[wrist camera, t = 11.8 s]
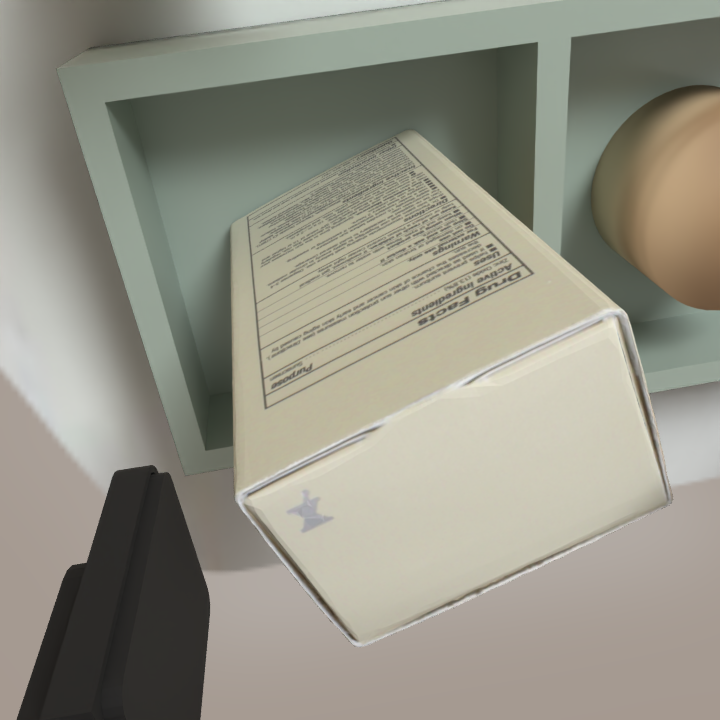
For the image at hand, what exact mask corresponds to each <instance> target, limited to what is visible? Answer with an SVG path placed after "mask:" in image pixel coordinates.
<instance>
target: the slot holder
mask: <svg viewBox="0 0 720 720" xmlns="http://www.w3.org/2000/svg"><path fill="white" fill-rule="evenodd" d="M56 70H57V73H58V76H59V80H60V83H61V86H62V89H63V92H64V95H65V99H66V102H67V105H68V108H69V111H70V114H71V117H72V121H73V124H74V127H75V130H76V133H77V136H78V140H79V143H80V146H81V149H82V152H83V155H84V158H85V162H86V165H87V168H88V171H89V174H90V177H91V181H92V184H93V187H94V190H95V193H96V196H97V199H98V203H99V206H100V209H101V212H102V215H103V218H104V222H105V225H106V228H107V231H108V234H109V237H110V240H111V244H112V247H113V250H114V253H115V256H116V259H117V263H118V266H119V269H120V272H121V275H122V278H123V281H124V285H125V288H126V291H127V294H128V297H129V300H130V304H131V307H132V310H133V313H134V316H135V319H136V322H137V326H138V329H139V332H140V335H141V338H142V341H143V345H144V348H145V351H146V354H147V357H148V360H149V363H150V367H151V370H152V373H153V376H154V379H155V382H156V386H157V389H158V392H159V395H160V398H161V401H162V404H163V408H164V411H165V414H166V417H167V420H168V423H169V427H170V430H171V433H172V436H173V439H174V442H175V445H176V449H177V452H178V455H179V458H180V461H181V464H182V468H183V471H184V474H185V476H188V475H194V474H199V473H205V472H211V471H216V470H222V469H227V468H233V467H234V451H233V388H232V379H233V377H232V322H231V261H230V226H231V224H232V223H234V222H235V221H237V220H238V219H240V218H242V217H244V216H246V215H247V214H249V213H251V212H252V211H254V210H256V209H257V208H259V207H261V206H263V205H264V204H266V203H268V202H270V201H271V200H273V199H275V198H277V197H278V196H280V195H282V194H284V193H286V192H287V191H289V190H291V189H293V188H295V187H296V186H298V185H300V184H302V183H304V182H306V181H308V180H309V179H311V178H313V177H315V176H317V175H319V174H321V173H322V172H324V171H326V170H328V169H330V168H332V167H334V166H335V165H337V164H339V163H341V162H343V161H345V160H347V159H349V158H351V157H353V156H355V155H357V154H359V153H361V152H362V151H364V150H367V149H369V148H371V147H372V146H374V145H376V144H378V143H380V142H382V141H385V140H387V139H389V138H391V137H393V136H395V135H397V134H399V133H401V132H403V131H405V130H408V129H413V130H415V131H416V132H418V133H419V134H420V135H421V136H422V137H423V138H425V139H426V140H427V141H428V142H429V143H430V144H431V145H433V146H434V147H435V148H436V149H437V150H438V151H440V152H441V153H442V154H443V155H444V156H445V157H447V158H448V159H449V160H450V161H451V162H452V163H453V164H455V165H456V166H457V167H458V168H459V169H460V170H461V171H463V172H464V173H465V174H466V175H467V176H468V177H469V178H471V179H472V180H473V181H474V182H475V183H477V184H478V185H479V186H480V187H481V188H483V189H484V190H485V191H486V192H487V193H488V194H489V195H491V196H492V197H493V198H494V199H495V200H496V201H497V202H499V203H500V204H501V205H502V206H503V207H504V208H505V209H506V210H508V211H509V212H510V213H511V214H512V215H513V216H515V217H516V218H517V219H518V220H519V221H521V222H522V223H523V224H524V225H525V226H526V227H528V228H529V229H530V230H531V231H532V232H533V233H535V234H536V235H537V236H538V237H539V238H540V239H541V240H543V241H544V242H545V243H546V244H547V245H548V246H550V247H551V248H552V249H553V250H554V251H555V252H557V253H558V254H559V255H560V256H561V257H562V258H563V259H564V260H566V261H567V262H568V263H569V264H570V265H571V266H573V267H574V268H575V269H576V270H577V271H579V272H580V273H581V274H582V275H583V276H584V277H585V278H587V279H588V280H589V281H590V282H591V283H592V284H594V285H595V286H596V287H597V288H598V289H599V290H600V291H602V292H603V293H604V294H605V295H606V296H607V297H608V298H610V299H611V300H612V301H613V302H614V303H615V304H617V305H618V306H619V307H620V308H622V309H623V310H624V311H625V312H626V313H627V315H628V318H629V321H630V324H631V327H632V331H633V334H634V338H635V342H636V346H637V350H638V353H639V357H640V360H641V364H642V367H643V371H644V375H645V379H646V383H647V388H648V393H654V392H659V391H665V390H670V389H676V388H682V387H687V386H693V385H699V384H704V383H710V382H715V381H720V310H702V309H696V308H693V307H690V306H687V305H685V304H683V303H681V302H679V301H677V300H676V299H674V298H673V297H672V296H670V295H669V294H668V293H666V292H665V291H664V290H663V289H661V288H660V287H659V286H658V285H656V284H655V283H654V282H653V281H651V280H650V279H649V278H648V277H646V276H645V275H644V274H643V273H641V272H640V271H639V270H638V269H636V268H635V267H634V266H633V265H631V264H630V263H629V262H628V261H626V260H625V259H624V258H623V257H621V256H620V255H619V254H618V253H616V252H615V251H614V250H613V249H611V248H610V247H609V246H608V245H607V243H606V242H605V241H604V240H603V238H602V237H601V235H600V234H599V232H598V230H597V227H596V225H595V222H594V219H593V215H592V207H591V191H592V183H593V178H594V175H595V171H596V168H597V165H598V163H599V160H600V157H601V155H602V153H603V152H604V150H605V148H606V146H607V144H608V143H609V141H610V140H611V138H612V137H613V135H614V134H615V132H616V131H617V130H618V129H619V128H620V126H621V125H622V124H623V123H624V122H625V121H626V120H627V119H628V118H629V117H630V116H631V115H632V114H633V113H634V112H635V111H637V110H638V109H639V108H640V107H642V106H643V105H644V104H646V103H648V102H649V101H651V100H652V99H654V98H656V97H658V96H660V95H662V94H664V93H666V92H669V91H671V90H674V89H677V88H681V87H686V86H691V85H711V86H716V87H720V0H445V1H437V2H430V3H422V4H415V5H407V6H400V7H392V8H385V9H377V10H370V11H362V12H355V13H347V14H340V15H332V16H325V17H317V18H310V19H303V20H295V21H288V22H280V23H273V24H265V25H258V26H250V27H243V28H235V29H228V30H220V31H213V32H205V33H198V34H190V35H183V36H176V37H168V38H161V39H153V40H146V41H138V42H131V43H123V44H116V45H108V46H101V47H93V48H89V49H87V50H86V51H84V52H82V53H81V54H79V55H78V56H76V57H74V58H73V59H71V60H70V61H68V62H66V63H65V64H63V65H62V66H60V67H58V68H57V69H56Z"/></svg>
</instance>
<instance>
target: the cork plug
mask: <svg viewBox="0 0 720 720" xmlns="http://www.w3.org/2000/svg"><path fill="white" fill-rule="evenodd" d="M591 207H592V215H593V219H594V222H595V225H596V227H597V230H598V232H599V234H600V235H601V237H602V238H603V240H604V241H605V242H606V243H607V245H608V246H609V247H610V248H611V249H613V250H614V251H615V252H616V253H618V254H619V255H620V256H621V257H623V258H624V259H625V260H626V261H628V262H629V263H630V264H631V265H633V266H634V267H635V268H636V269H638V270H639V271H640V272H641V273H643V274H644V275H645V276H646V277H648V278H649V279H650V280H651V281H653V282H654V283H655V284H656V285H658V286H659V287H660V288H661V289H663V290H664V291H665V292H666V293H668V294H669V295H670V296H672V297H673V298H674V299H676V300H677V301H679V302H681V303H683V304H685V305H687V306H690V307H693V308H696V309H702V310H720V87H716V86H711V85H691V86H686V87H681V88H677V89H674V90H671V91H669V92H666V93H664V94H662V95H660V96H658V97H656V98H654V99H652V100H651V101H649V102H648V103H646V104H644V105H643V106H642V107H640V108H639V109H638V110H637V111H635V112H634V113H633V114H632V115H631V116H630V117H629V118H628V119H627V120H626V121H625V122H624V123H623V124H622V125H621V126H620V128H619V129H618V130H617V131H616V132H615V134H614V135H613V137H612V138H611V140H610V141H609V143H608V144H607V146H606V148H605V150H604V152H603V153H602V155H601V157H600V160H599V163H598V165H597V168H596V171H595V175H594V178H593V183H592V191H591Z"/></svg>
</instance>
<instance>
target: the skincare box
mask: <svg viewBox="0 0 720 720" xmlns="http://www.w3.org/2000/svg"><path fill="white" fill-rule="evenodd" d="M230 261H231V322H232V377H233V379H232V388H233V451H234V499H235V502H236V504H237V505H238V506H239V507H240V509H241V510H242V511H243V512H244V514H245V515H246V517H247V518H248V519H249V520H250V521H251V522H252V523H253V525H254V526H255V528H256V529H257V530H258V532H259V533H260V535H261V536H262V537H263V539H264V540H265V541H266V542H267V543H268V544H269V546H270V547H271V548H272V549H273V551H274V552H275V554H276V555H277V556H278V558H279V559H280V561H281V562H282V563H283V564H284V565H285V567H286V568H287V569H288V570H289V571H290V572H291V574H292V575H293V576H294V578H295V579H296V580H297V581H298V583H299V584H300V585H301V587H302V588H303V589H304V590H305V592H306V593H307V594H308V595H309V596H310V598H311V599H312V600H313V601H314V602H315V604H316V605H317V606H318V607H319V608H320V610H321V611H322V612H323V613H324V614H325V615H326V616H327V617H328V619H329V620H330V621H331V622H332V623H333V624H334V625H335V626H336V627H337V628H338V629H339V630H340V631H341V632H342V633H343V635H344V636H345V637H346V638H347V639H348V640H349V642H350V643H351V644H353V645H354V646H355V647H362V646H366V645H369V644H371V643H374V642H376V641H378V640H380V639H382V638H384V637H386V636H389V635H392V634H395V633H397V632H398V631H401V630H404V629H406V628H408V627H410V626H412V625H415V624H417V623H420V622H423V621H425V620H426V619H428V618H430V617H433V616H436V615H438V614H440V613H442V612H444V611H446V610H448V609H451V608H454V607H456V606H458V605H460V604H462V603H464V602H466V601H468V600H471V599H473V598H475V597H478V596H480V595H482V594H484V593H485V592H487V591H489V590H492V589H494V588H496V587H499V586H501V585H503V584H506V583H508V582H510V581H512V580H514V579H516V578H518V577H520V576H522V575H524V574H527V573H529V572H531V571H533V570H536V569H537V568H540V567H542V566H543V565H546V564H548V563H550V562H552V561H555V560H556V559H558V558H561V557H563V556H565V555H567V554H569V553H571V552H573V551H575V550H578V549H580V548H582V547H584V546H586V545H588V544H590V543H592V542H594V541H596V540H598V539H600V538H602V537H604V536H606V535H608V534H610V533H612V532H615V531H617V530H619V529H621V528H623V527H625V526H627V525H629V524H630V523H633V522H635V521H637V520H639V519H641V518H643V517H645V516H648V515H649V514H652V513H654V512H656V511H658V510H660V509H663V508H665V507H667V506H668V505H669V504H671V503H672V500H673V494H672V491H671V487H670V484H669V480H668V476H667V472H666V465H665V460H664V455H663V451H662V447H661V443H660V438H659V433H658V428H657V423H656V420H655V415H654V411H653V409H652V405H651V400H650V396H649V393H648V388H647V383H646V379H645V375H644V371H643V367H642V364H641V360H640V357H639V353H638V350H637V346H636V342H635V338H634V334H633V331H632V327H631V324H630V321H629V318H628V315H627V313H626V312H625V311H624V310H623V309H622V308H620V307H619V306H618V305H617V304H615V303H614V302H613V301H612V300H611V299H610V298H608V297H607V296H606V295H605V294H604V293H603V292H602V291H600V290H599V289H598V288H597V287H596V286H595V285H594V284H592V283H591V282H590V281H589V280H588V279H587V278H585V277H584V276H583V275H582V274H581V273H580V272H579V271H577V270H576V269H575V268H574V267H573V266H571V265H570V264H569V263H568V262H567V261H566V260H564V259H563V258H562V257H561V256H560V255H559V254H558V253H557V252H555V251H554V250H553V249H552V248H551V247H550V246H548V245H547V244H546V243H545V242H544V241H543V240H541V239H540V238H539V237H538V236H537V235H536V234H535V233H533V232H532V231H531V230H530V229H529V228H528V227H526V226H525V225H524V224H523V223H522V222H521V221H519V220H518V219H517V218H516V217H515V216H513V215H512V214H511V213H510V212H509V211H508V210H506V209H505V208H504V207H503V206H502V205H501V204H500V203H499V202H497V201H496V200H495V199H494V198H493V197H492V196H491V195H489V194H488V193H487V192H486V191H485V190H484V189H483V188H481V187H480V186H479V185H478V184H477V183H475V182H474V181H473V180H472V179H471V178H469V177H468V176H467V175H466V174H465V173H464V172H463V171H461V170H460V169H459V168H458V167H457V166H456V165H455V164H453V163H452V162H451V161H450V160H449V159H448V158H447V157H445V156H444V155H443V154H442V153H441V152H440V151H438V150H437V149H436V148H435V147H434V146H433V145H431V144H430V143H429V142H428V141H427V140H426V139H425V138H423V137H422V136H421V135H420V134H419V133H418V132H416V131H415V130H413V129H408V130H405V131H403V132H401V133H399V134H397V135H395V136H393V137H391V138H389V139H387V140H385V141H382V142H380V143H378V144H376V145H374V146H372V147H371V148H369V149H367V150H364V151H362V152H361V153H359V154H357V155H355V156H353V157H351V158H349V159H347V160H345V161H343V162H341V163H339V164H337V165H335V166H334V167H332V168H330V169H328V170H326V171H324V172H322V173H321V174H319V175H317V176H315V177H313V178H311V179H309V180H308V181H306V182H304V183H302V184H300V185H298V186H296V187H295V188H293V189H291V190H289V191H287V192H286V193H284V194H282V195H280V196H278V197H277V198H275V199H273V200H271V201H270V202H268V203H266V204H264V205H263V206H261V207H259V208H257V209H256V210H254V211H252V212H251V213H249V214H247V215H246V216H244V217H242V218H240V219H238V220H237V221H235V222H234V223H232V224H231V226H230Z"/></svg>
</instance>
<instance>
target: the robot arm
mask: <svg viewBox="0 0 720 720" xmlns="http://www.w3.org/2000/svg"><path fill="white" fill-rule="evenodd" d="M209 617H210V599H209V592H208V588H207V585H206V582H205V579H204V576H203V573H202V570H201V567H200V564H199V561H198V558H197V555H196V551H195V548H194V545H193V542H192V539H191V536H190V533H189V530H188V527H187V524H186V521H185V518H184V515H183V512H182V509H181V506H180V503H179V500H178V497H177V494H176V491H175V487H174V484H173V481H172V479H171V476H170V474H169V473H167V472H166V473H158V471H157V469H156V468H155V466H153V465H150V466H143V467H137V468H131V469H124V470H118V471H116V472H115V473H114V475H113V477H112V480H111V484H110V487H109V490H108V494H107V497H106V500H105V504H104V507H103V510H102V514H101V517H100V520H99V524H98V527H97V530H96V534H95V537H94V540H93V544H92V547H91V550H90V554H89V557H88V560H87V563H83V564H77V565H72V566H71V567H70V568H69V569H68V570H67V572H66V574H65V576H64V578H63V581H62V584H61V587H60V590H59V593H58V596H57V599H56V602H55V606H54V608H53V611H52V614H51V617H50V621H49V623H48V627H47V630H46V632H45V636H44V639H43V641H42V645H41V648H40V651H39V654H38V657H37V660H36V663H35V666H34V669H33V672H32V675H31V678H30V681H29V684H28V687H27V690H26V693H25V696H24V699H23V702H22V705H21V708H20V711H19V714H18V717H17V720H200V717H201V706H202V695H203V683H204V672H205V662H206V651H207V640H208V629H209Z"/></svg>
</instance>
